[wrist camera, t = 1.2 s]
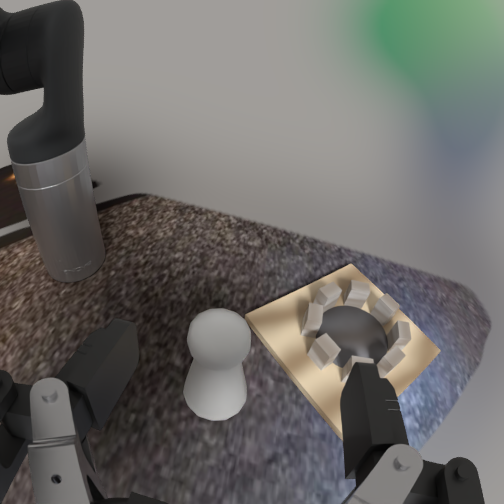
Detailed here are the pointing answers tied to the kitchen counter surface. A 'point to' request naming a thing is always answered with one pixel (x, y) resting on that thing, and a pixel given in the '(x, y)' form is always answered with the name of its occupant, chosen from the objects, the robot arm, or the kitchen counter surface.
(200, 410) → the salt shaker
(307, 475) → the kitchen counter surface
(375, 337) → the stonehenge model
